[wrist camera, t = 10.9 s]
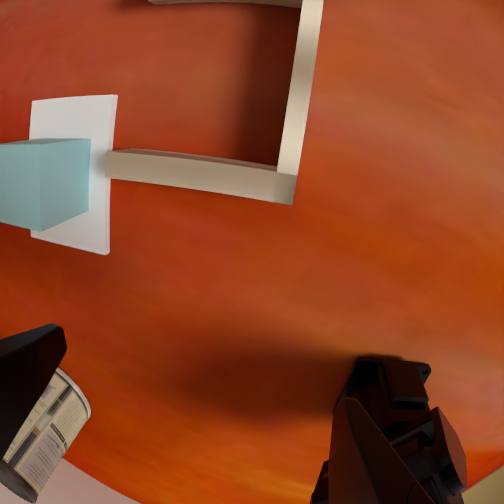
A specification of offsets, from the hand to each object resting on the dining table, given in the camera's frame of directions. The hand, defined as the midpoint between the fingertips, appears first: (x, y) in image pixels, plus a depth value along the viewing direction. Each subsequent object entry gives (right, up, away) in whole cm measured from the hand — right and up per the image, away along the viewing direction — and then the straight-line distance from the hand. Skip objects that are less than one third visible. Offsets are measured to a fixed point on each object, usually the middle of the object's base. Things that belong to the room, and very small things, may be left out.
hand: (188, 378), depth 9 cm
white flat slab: (-11, +9, +11) cm, 19 cm away
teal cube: (-12, +9, +11) cm, 18 cm away
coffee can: (-21, -12, +21) cm, 32 cm away
